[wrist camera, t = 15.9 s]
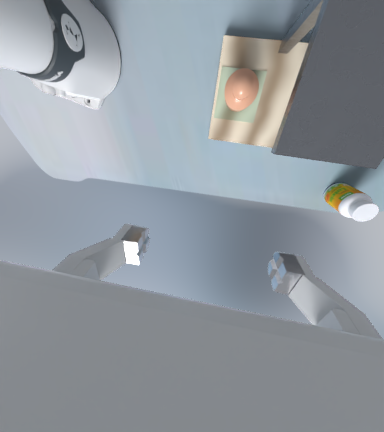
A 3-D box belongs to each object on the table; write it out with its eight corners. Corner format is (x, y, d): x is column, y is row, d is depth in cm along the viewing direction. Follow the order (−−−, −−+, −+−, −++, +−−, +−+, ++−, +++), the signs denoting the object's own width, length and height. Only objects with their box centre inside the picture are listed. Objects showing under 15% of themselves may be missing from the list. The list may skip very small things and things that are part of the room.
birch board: (209, 137, 38) (208, 138, 36) (223, 40, 30) (223, 34, 28) (322, 153, 36) (328, 155, 34) (373, 53, 28) (384, 49, 26)
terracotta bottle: (221, 109, 33) (220, 104, 24) (229, 77, 30) (230, 59, 22) (246, 114, 33) (253, 111, 24) (256, 82, 30) (268, 66, 21)
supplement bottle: (334, 178, 38) (365, 195, 30) (355, 187, 38) (392, 206, 30) (317, 198, 41) (341, 218, 33) (337, 206, 41) (366, 228, 33)
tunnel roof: (253, 139, 35) (274, 154, 21) (281, 40, 27) (344, -44, 13) (312, 148, 34) (375, 168, 20) (359, 47, 26) (517, -36, 12)
